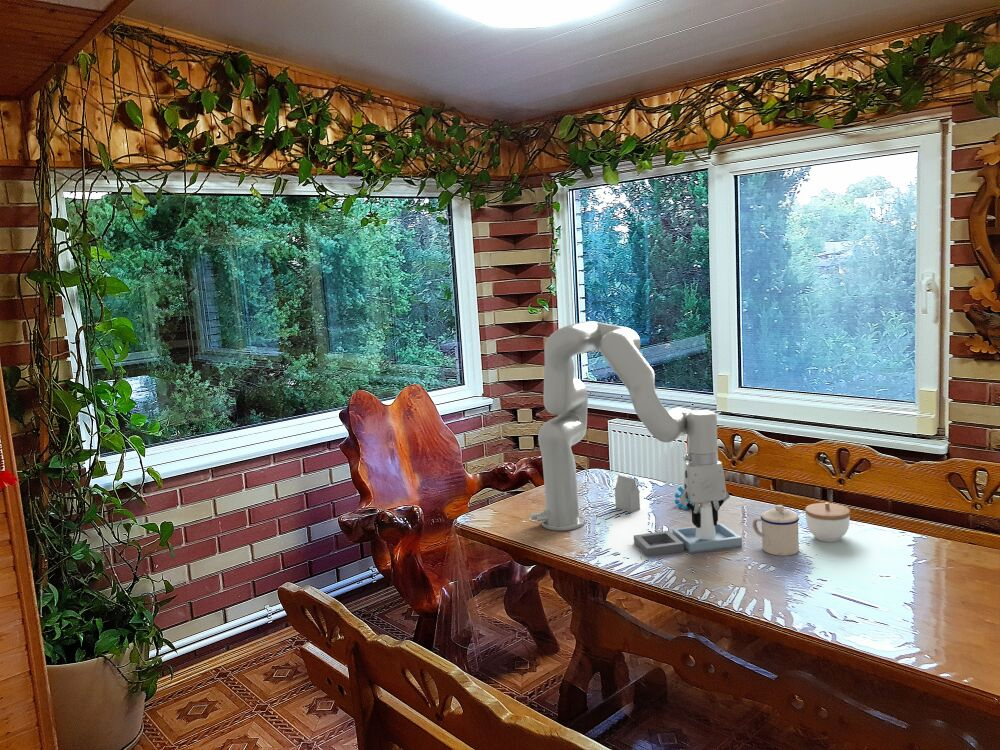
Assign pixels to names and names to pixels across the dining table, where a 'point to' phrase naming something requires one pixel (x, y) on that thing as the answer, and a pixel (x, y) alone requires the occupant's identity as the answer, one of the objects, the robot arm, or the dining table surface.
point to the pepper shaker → (706, 522)
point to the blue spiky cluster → (679, 497)
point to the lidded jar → (827, 521)
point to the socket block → (671, 547)
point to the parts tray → (721, 541)
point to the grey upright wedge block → (627, 494)
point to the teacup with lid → (778, 531)
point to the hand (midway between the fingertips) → (705, 524)
